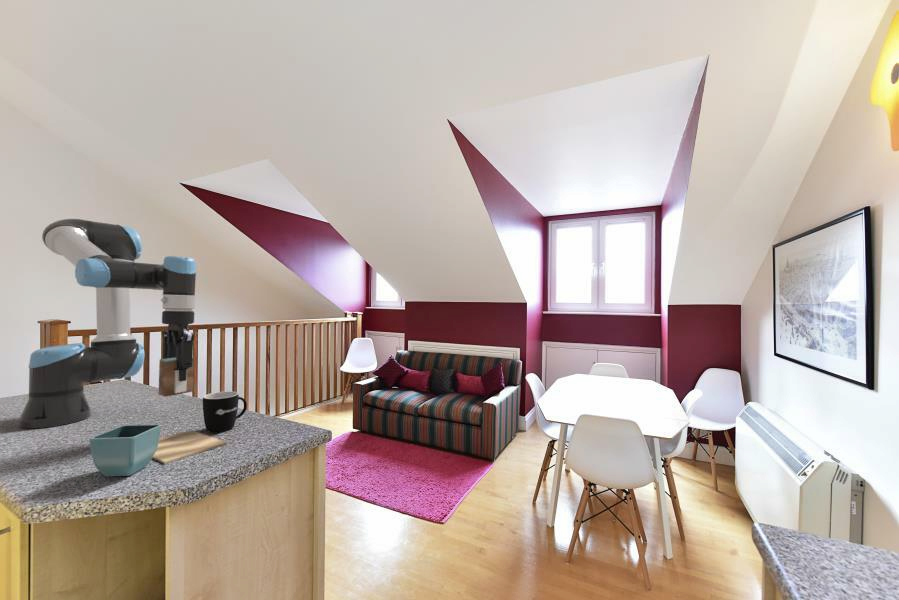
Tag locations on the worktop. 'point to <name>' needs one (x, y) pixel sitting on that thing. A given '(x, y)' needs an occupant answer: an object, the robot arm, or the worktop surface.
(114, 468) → the flower pot
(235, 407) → the mug
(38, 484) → the worktop surface
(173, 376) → the block
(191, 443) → the mat
